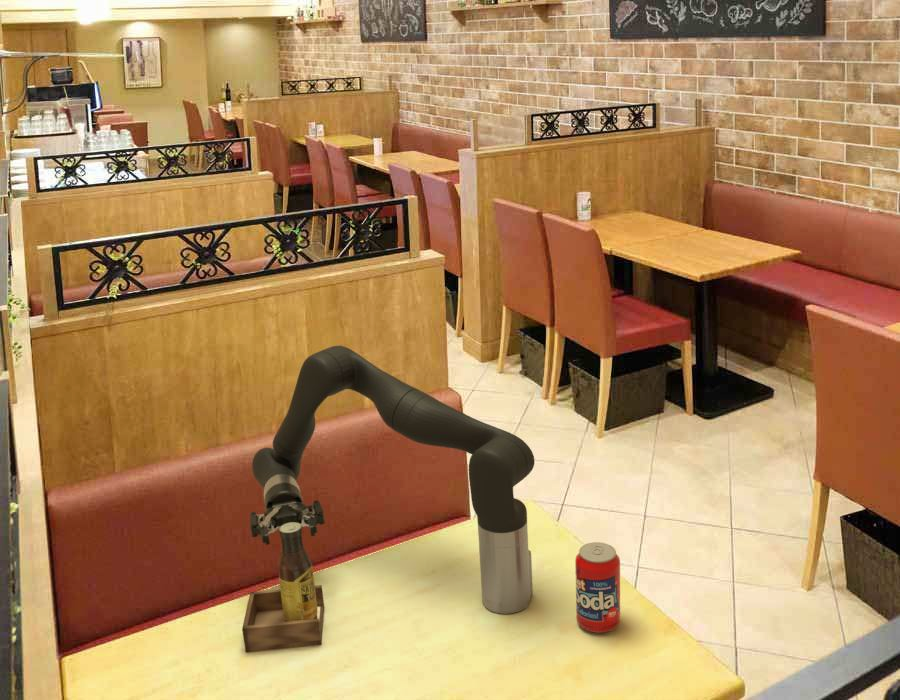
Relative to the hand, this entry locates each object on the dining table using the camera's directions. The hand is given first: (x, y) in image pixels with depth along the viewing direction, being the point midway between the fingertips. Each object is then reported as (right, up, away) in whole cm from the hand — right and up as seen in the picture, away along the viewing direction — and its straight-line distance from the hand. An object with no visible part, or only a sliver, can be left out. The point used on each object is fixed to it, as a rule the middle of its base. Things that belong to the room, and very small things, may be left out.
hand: (290, 536), depth 175 cm
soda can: (+57, -15, -7) cm, 60 cm away
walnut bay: (0, -17, -3) cm, 17 cm away
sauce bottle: (+3, -16, -3) cm, 16 cm away
